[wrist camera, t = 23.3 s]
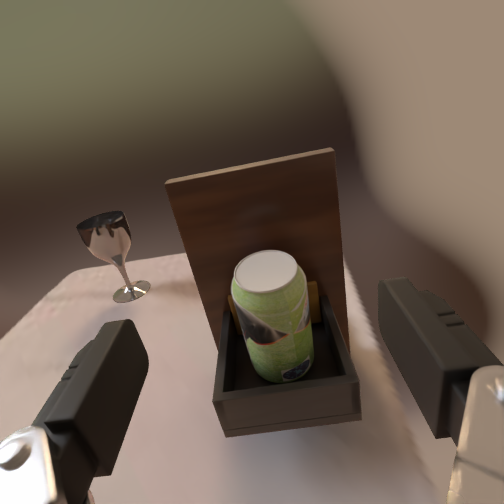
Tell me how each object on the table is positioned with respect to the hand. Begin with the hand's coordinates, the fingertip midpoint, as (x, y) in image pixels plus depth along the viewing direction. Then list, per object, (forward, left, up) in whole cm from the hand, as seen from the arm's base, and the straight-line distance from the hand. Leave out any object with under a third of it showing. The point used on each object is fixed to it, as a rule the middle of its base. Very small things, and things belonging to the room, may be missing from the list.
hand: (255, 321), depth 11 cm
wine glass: (+24, +46, -24) cm, 57 cm away
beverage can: (+12, +7, -18) cm, 22 cm away
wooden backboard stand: (+15, +9, -23) cm, 29 cm away
